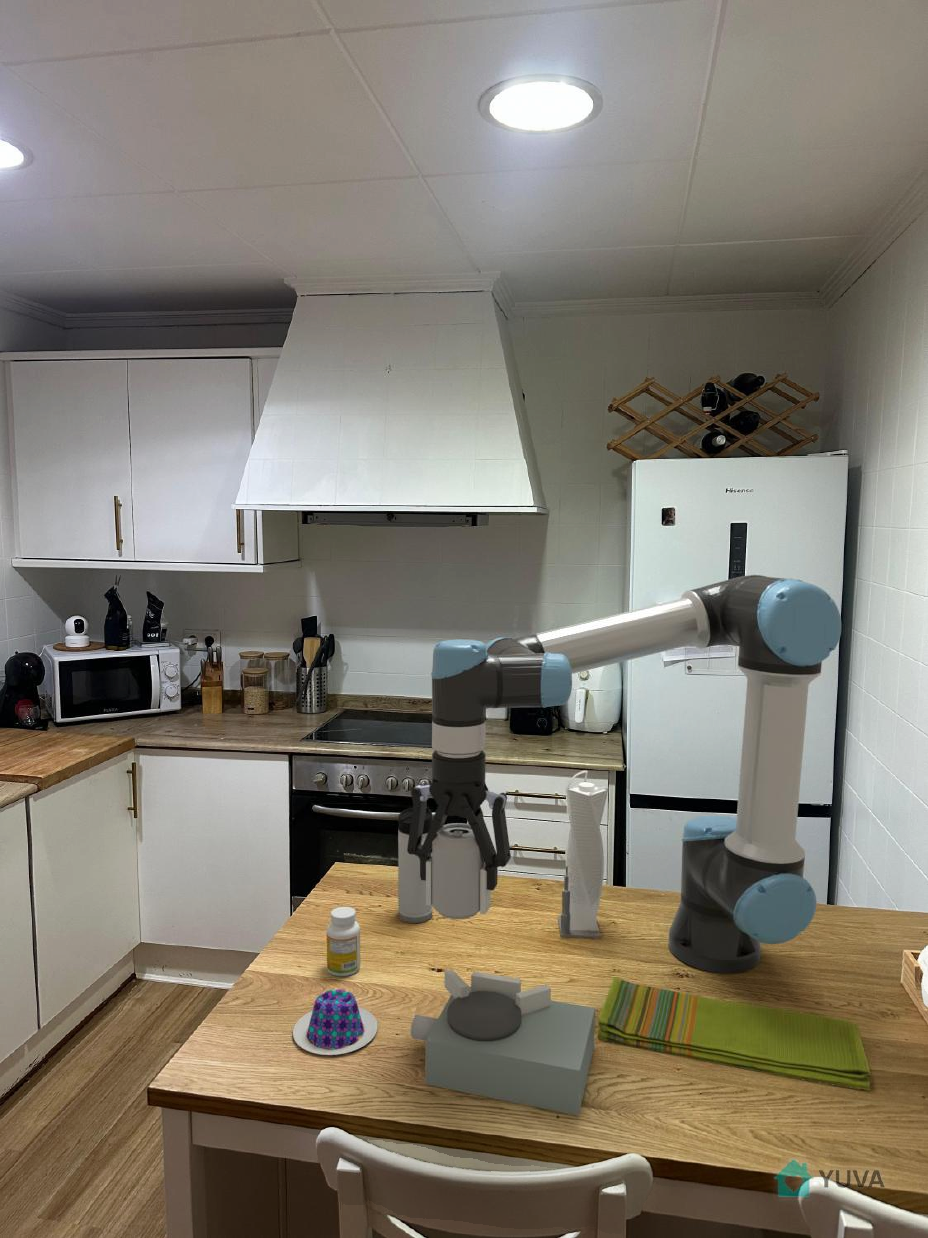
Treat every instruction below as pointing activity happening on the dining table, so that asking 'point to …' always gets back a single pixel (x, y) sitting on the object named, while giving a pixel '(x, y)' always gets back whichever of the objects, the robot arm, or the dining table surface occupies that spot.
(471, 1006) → the gearbox
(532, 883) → the dining table surface
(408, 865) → the travel mug
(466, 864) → the can
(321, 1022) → the pudding
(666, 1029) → the dish towel
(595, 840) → the skyscraper
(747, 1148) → the dining table surface
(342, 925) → the supplement bottle
